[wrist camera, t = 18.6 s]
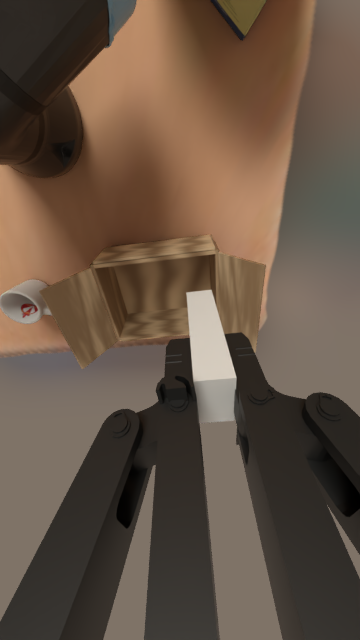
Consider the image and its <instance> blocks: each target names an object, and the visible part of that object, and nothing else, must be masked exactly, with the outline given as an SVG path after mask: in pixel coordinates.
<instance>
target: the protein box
mask: <svg viewBox="0 0 360 640" xmlns="http://www.w3.org/2000/svg"><path fill="white" fill-rule="evenodd" d="M266 1H267V0H211V2H212V3H213V4H214V6H215V7H216V8H217V10H218V11H219V12H220V14H221V15H222V16H223V17H224V19H225V20H226V21H227V23H228V24H229V25H230V27H231V28H232V29H233V31H234V32H235V33H236V34H237V36H238V37H239V38H240V40H242V41H243V39H244V38H245V36H246V34H247V33H248V31H249V29H250V28H251V26H252V24H253V23H254V21H255V19H256V18H257V16H258V14H259V13H260V11H261V9H262V8H263V6H264V4H265V3H266Z"/></svg>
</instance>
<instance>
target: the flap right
mask: <svg viewBox="0 0 360 640" xmlns="http://www.w3.org/2000/svg"><path fill="white" fill-rule="evenodd" d="M218 257H219V318H220V321H221V325H222V328H223V332H224V334H229V333H239V332H242V333H243V334H244V335H245V336H246V337H247V338H248V339H249V341H250V343H251V345H252V348H253V350H254V353H255V352H256V345H257V337H258V328H259V319H260V311H261V302H262V294H263V285H264V277H265V268H266V265H264V264H261V263H257V262H253V261H250V260H246V259H243V258H239V257H236V256H232V255H228V254H225V253H221V252H220V253H218Z"/></svg>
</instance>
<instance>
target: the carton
mask: <svg viewBox="0 0 360 640" xmlns="http://www.w3.org/2000/svg"><path fill="white" fill-rule="evenodd" d="M218 253H219V249H218V247H217V245H216V243H215V241H214V239H213V237H212V235H202V236H194V237H186V238H178V239H170V240H162V241H154V242H146V243H138V244H130V245H122V246H114V247H106V248H104V249H103V251H102V252H101V253H100V254H99V255H98V256H97V257H96V259H95V260H94V261H93V262H92V264H91V265H90V268H91V270H92V273H93V276H94V278H95V281H96V284H97V286H98V289H99V292H100V294H101V297H102V300H103V302H104V305H105V308H106V310H107V313H108V316H109V318H110V321H111V324H112V326H113V329H114V332H115V335H116V337H117V340H118V341H120V340H121V342H122V341H132V340H142V339H152V338H162V337H172V336H182V335H190V332H189V319H188V307H187V294H186V292H195V291H204V290H212V293H213V297H214V300H215V304H216V307H217V311H218V314H219V257H218Z"/></svg>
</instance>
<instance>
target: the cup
mask: <svg viewBox="0 0 360 640" xmlns="http://www.w3.org/2000/svg"><path fill="white" fill-rule="evenodd" d="M47 287H49V286H48V285H47V284H46V283H44V282H42V281H40V280H35V279H31V280H27V281H25V282H23V283H21V284H19V285H17V286H15V287H13V288H11V289H10V290H8V291H6V292H4V293H3V294H2V295H1V296H0V308H1V309H2V311H3V312H4V313H5V314H6V315H7V316H8V317H9V318H11V319H12V320H14V321H16V322H19V323H23V324H32V323H35V322H37V321H39V320H40V318H41V317H42V316H43V315H51V316H52V314H51V312H50V310H49V309H48V307H47V305H46V303H45V301H44V300H43V298H42V296H41V294H40V292H39V291H40V290H42V289H44V288H47Z"/></svg>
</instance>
